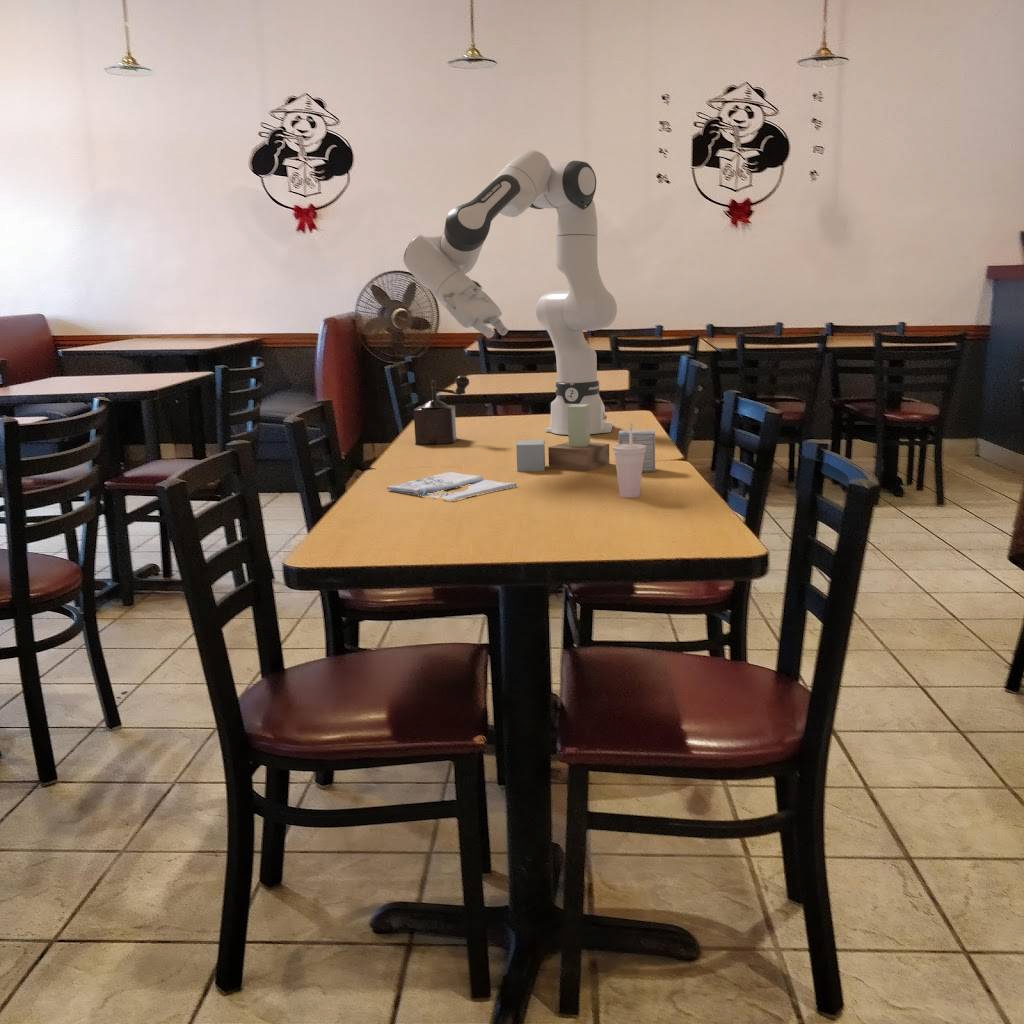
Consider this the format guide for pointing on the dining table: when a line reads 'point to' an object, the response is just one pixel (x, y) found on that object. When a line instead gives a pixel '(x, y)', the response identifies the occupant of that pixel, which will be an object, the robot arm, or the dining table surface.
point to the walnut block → (578, 456)
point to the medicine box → (645, 439)
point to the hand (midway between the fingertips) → (498, 334)
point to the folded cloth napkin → (449, 485)
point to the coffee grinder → (437, 417)
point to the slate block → (531, 455)
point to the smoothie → (629, 467)
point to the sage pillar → (578, 425)
